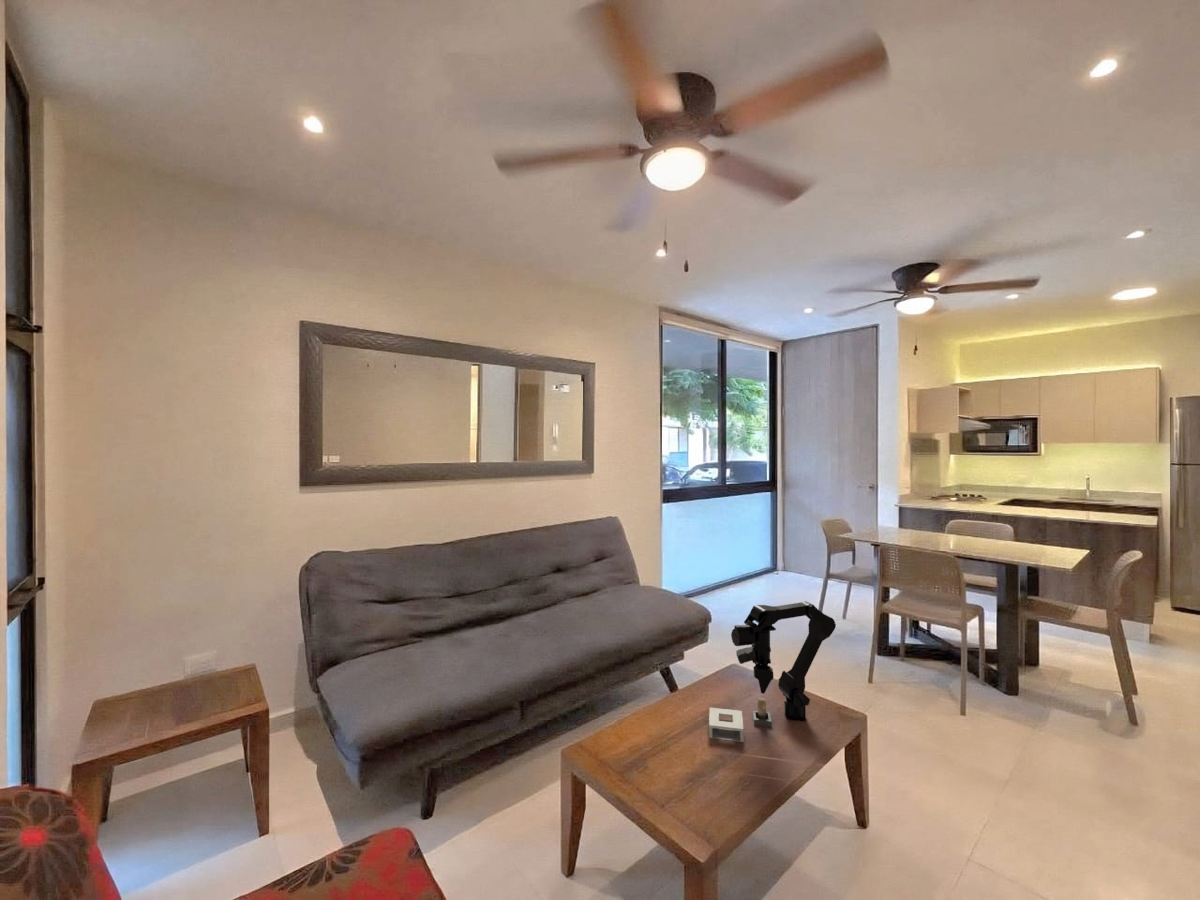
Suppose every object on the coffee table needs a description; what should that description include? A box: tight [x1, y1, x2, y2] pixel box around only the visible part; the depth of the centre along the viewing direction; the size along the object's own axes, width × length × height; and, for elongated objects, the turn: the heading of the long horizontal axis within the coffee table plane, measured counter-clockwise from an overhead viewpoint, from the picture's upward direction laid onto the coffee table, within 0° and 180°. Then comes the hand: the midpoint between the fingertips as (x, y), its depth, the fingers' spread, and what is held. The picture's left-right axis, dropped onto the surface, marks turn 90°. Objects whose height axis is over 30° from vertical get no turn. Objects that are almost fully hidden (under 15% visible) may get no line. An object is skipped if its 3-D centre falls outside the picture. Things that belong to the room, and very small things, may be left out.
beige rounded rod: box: [757, 697, 767, 720], centre depth 174 cm, size 3×3×8 cm
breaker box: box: [708, 707, 744, 743], centre depth 169 cm, size 11×11×5 cm
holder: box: [752, 710, 773, 728], centre depth 174 cm, size 6×6×2 cm
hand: (761, 686), depth 174 cm, fingers open, 9 cm apart
